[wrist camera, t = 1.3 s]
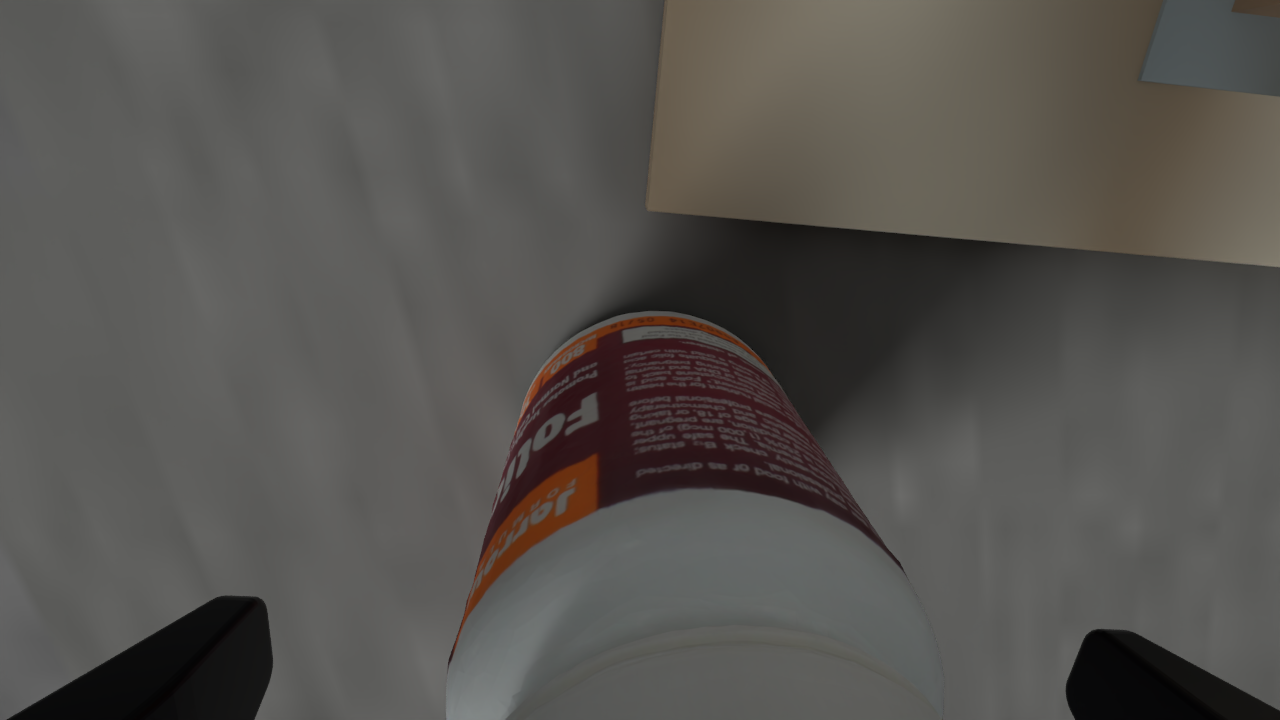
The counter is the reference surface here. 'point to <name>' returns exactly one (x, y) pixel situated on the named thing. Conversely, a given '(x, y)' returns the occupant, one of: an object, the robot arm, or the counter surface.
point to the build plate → (978, 121)
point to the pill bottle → (681, 552)
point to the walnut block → (1258, 7)
